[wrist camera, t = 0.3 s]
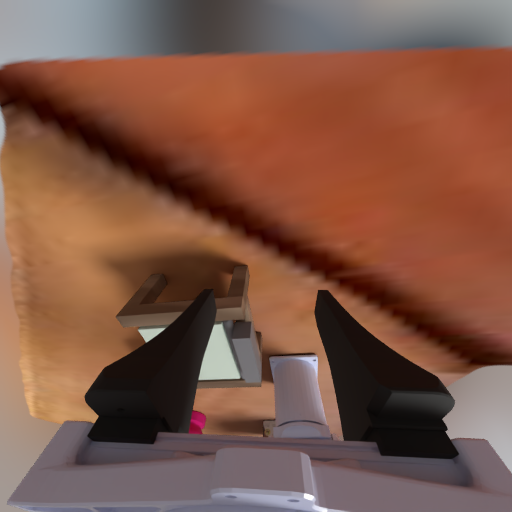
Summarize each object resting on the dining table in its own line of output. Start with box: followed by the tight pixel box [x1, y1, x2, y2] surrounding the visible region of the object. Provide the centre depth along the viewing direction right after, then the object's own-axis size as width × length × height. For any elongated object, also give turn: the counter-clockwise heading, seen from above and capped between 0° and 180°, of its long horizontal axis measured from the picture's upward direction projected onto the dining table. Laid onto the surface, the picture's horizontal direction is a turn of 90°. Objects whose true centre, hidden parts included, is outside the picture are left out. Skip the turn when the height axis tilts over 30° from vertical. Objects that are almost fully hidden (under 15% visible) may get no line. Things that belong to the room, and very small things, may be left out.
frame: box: [116, 266, 262, 389], centre depth 25 cm, size 14×13×7 cm
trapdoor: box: [138, 320, 261, 383], centre depth 22 cm, size 10×12×2 cm
